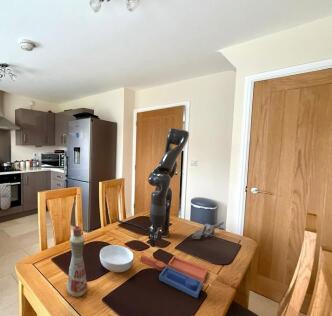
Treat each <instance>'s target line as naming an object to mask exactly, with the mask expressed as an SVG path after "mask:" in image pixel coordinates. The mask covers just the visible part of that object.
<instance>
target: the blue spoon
mask: <svg viewBox="0 0 332 316" xmlns="http://www.w3.org/2000/svg"><path fill="white" fill-rule="evenodd" d="M167 277H168V278H170V279H172V280H174V281H177V282H179V283H181V284H183V285H185V286H186V288H188V289H190V290H192V291H195V290H196V289H197V282H196V281H195V280H194V279H191V278H186V277H184V276H182V275H180V274H177V273H175V272H173V271H170V270H168V271H167Z"/></svg>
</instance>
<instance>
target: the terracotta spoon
mask: <svg viewBox="0 0 332 316" xmlns="http://www.w3.org/2000/svg"><path fill="white" fill-rule="evenodd" d="M140 262H142V263H144V264H147V265H149V266H151V267H153V268H154V269H155V270H157V271H158V272H162V271H163V270H164V268H165V267H166V264H165V263H164V262H163V261H162V260H161V261H160V260H156V259H154V258H152V257H150V256H147V255H145V254H141V255H140Z"/></svg>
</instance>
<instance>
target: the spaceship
mask: <svg viewBox="0 0 332 316" xmlns="http://www.w3.org/2000/svg"><path fill="white" fill-rule="evenodd" d="M224 224H225V222H224V221H221V222H219V223H216V224H213V225H211V224H210V223H205V224H204V225H203V227H202V226H200V227H198V229H197V230H195V231H194V232H193V234H192V236H191V238H192V239H194V240H200V239H201V238H202V237H204V238H207V237H208V236H213V235H215V233H216V231H215V230H216V229H217V228H220V227H221V226H223V225H224Z"/></svg>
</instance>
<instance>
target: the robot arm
mask: <svg viewBox="0 0 332 316" xmlns="http://www.w3.org/2000/svg"><path fill="white" fill-rule="evenodd" d="M189 137H190V132H189V131H188V130H185V129H181V128H175V127H170V128H169V130H168V132H167V135H166V139H165V140H166V141H165V147H164V152H163V155H162V157H161V158H160V160H159V162H158V165H156V167H155V168H154V169H153V170H152V171H151V172H150V173H149V175H148V178H147V181H148V185H150V186H151V187H155V188H154V191H152V192H151V195H150V206H149V222H151V226H148V227H147V228H145V227H143V226H141V225H139V224H135V223H133V222H127V221H123V220H119V219H118V218H114V219H113V220H114V221H117V222H119V223H122V224H127V225H132V226H135V227H138V228H140V229H142V230H145V231H148V236H147V239H148V240H150V242H149V243H150V244H149V245H150V247H151V248H155V247H156V241H160V242H161V241H162V239H163V238H168V237H169V235H170V223H171V222H170V221H171V220H170V218H171V208H172V200H173V190H172V188H171V187H170V185H171V184H172V183H171V182H172V178H173V177H174V176H175V175H176V172H177V169H178V160H177V159H178V158H179V156H181V155H180V154H182V152H183V150H184V148H185V147H186V145H187V143H188V140H189ZM173 146H175V147H173Z"/></svg>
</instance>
